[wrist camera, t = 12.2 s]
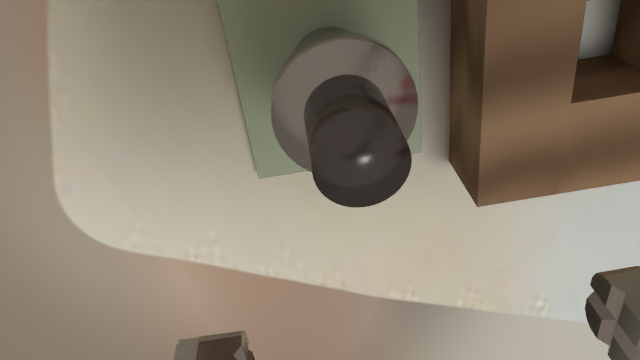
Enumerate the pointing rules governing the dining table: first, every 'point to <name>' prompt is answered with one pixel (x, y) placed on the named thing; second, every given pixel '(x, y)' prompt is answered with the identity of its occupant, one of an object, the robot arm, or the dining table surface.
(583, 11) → the block
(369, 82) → the flanged metal shaft
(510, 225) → the dining table surface
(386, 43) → the mat
